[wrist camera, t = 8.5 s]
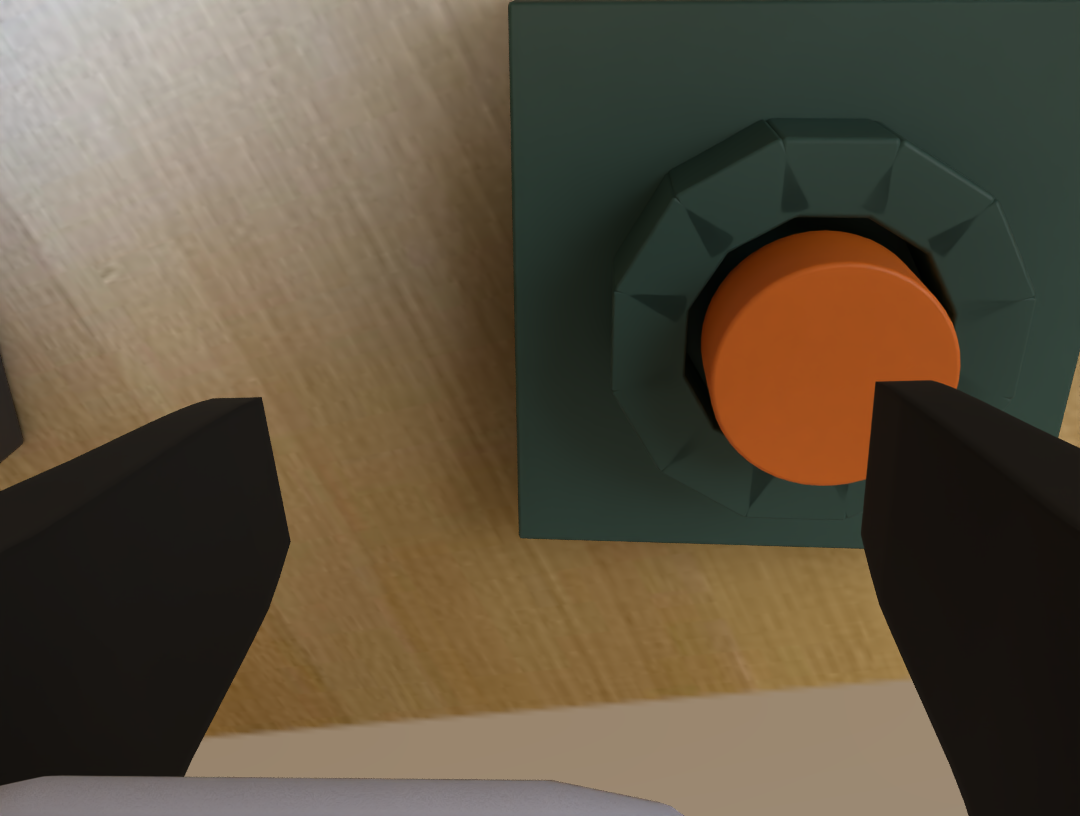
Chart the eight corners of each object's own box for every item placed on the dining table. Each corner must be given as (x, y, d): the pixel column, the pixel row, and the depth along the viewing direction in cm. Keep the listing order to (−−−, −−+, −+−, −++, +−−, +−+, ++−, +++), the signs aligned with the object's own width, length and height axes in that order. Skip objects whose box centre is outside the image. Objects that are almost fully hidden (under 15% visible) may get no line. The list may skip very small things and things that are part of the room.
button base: (999, 509, 20) (1069, 612, 17) (525, 496, 21) (510, 593, 18) (1116, -7, 16) (1239, 4, 13) (516, -4, 17) (495, 7, 14)
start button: (907, 438, 16) (939, 490, 15) (693, 433, 17) (702, 485, 15) (944, 230, 15) (983, 263, 13) (708, 228, 15) (719, 260, 14)
